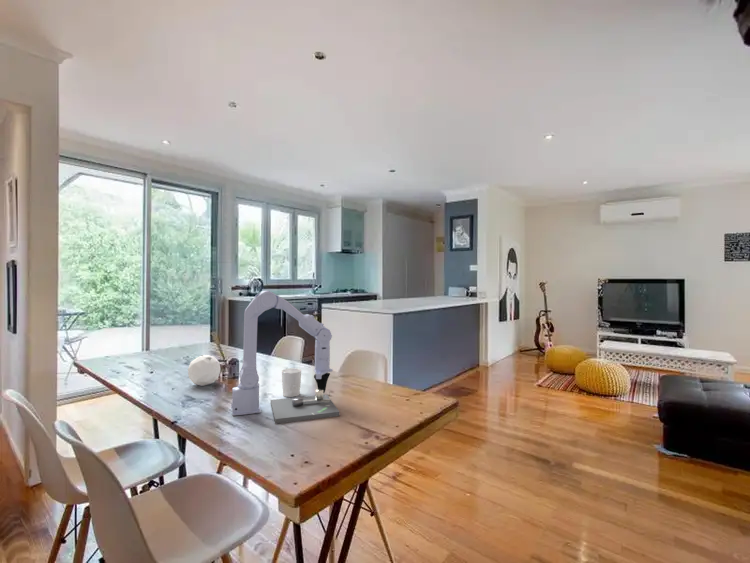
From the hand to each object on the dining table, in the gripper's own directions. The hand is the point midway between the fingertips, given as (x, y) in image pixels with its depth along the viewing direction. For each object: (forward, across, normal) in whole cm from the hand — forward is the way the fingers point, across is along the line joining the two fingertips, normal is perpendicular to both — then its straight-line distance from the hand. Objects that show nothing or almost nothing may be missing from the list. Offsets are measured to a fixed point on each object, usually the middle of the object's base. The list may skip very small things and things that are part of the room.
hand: (321, 392), depth 145 cm
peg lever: (+2, -6, +3) cm, 7 cm away
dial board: (+4, -8, +5) cm, 11 cm away
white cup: (+4, +8, +14) cm, 17 cm away
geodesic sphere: (+4, +19, +56) cm, 60 cm away
